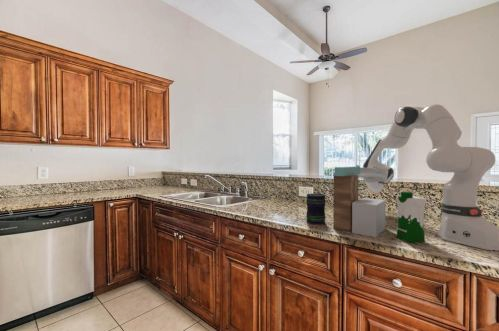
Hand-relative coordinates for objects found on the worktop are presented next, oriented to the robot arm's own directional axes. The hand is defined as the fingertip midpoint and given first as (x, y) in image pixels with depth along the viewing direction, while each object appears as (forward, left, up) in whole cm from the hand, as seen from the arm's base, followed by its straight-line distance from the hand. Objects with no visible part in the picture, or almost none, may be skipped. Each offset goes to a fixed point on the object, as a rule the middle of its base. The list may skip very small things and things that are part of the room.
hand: (365, 166), depth 137 cm
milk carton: (-36, +12, -30) cm, 48 cm away
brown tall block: (-11, +24, -30) cm, 40 cm away
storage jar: (+2, +32, -30) cm, 44 cm away
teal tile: (-10, +21, -4) cm, 24 cm away
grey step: (-19, +17, -30) cm, 40 cm away
